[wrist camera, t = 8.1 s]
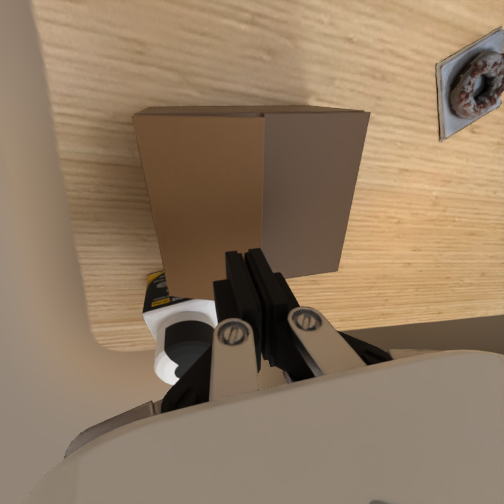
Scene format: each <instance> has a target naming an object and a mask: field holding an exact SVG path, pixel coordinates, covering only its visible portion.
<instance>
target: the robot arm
mask: <svg viewBox="0 0 504 504" xmlns="http://www.w3.org/2000/svg"><path fill="white" fill-rule="evenodd" d="M225 264H226V279H224V280H217V281H213V292H214V301H215V309H216V315H217V321H218V324H217V326H216V327H215V329H214V332H213V343H212V344H211V345H210V347H209V348H208V349H207V350H206V351H205V352H204V353H203V354H202V355H201V356H200V357H199V358H198V360H197V361H196V362H195V363H194V364H193V365H192V366H191V367H190V368H189V369H188V370H187V371H186V373H185V374H184V375H183V376H182V377H181V378H180V379H179V380H178V381H177V382H176V383H175V384H174V386H173V387H172V388H171V389H170V390H169V391H168V392H167V394H166V395H165V397H164V398H163V399H162V400H160V401H157V402H155V403H153V402H152V401H149V402H147V403H145V404H143V405H140V406H138V407H135V408H133V409H131V410H129V411H126V412H124V413H122V414H120V415H117V416H115V417H113V418H110V419H108V420H106V421H104V422H101V423H99V424H97V425H95V426H92V427H90V428H88V429H86V430H85V431H83V432H81V433H80V434H79V435H78V436H77V437H76V438H75V439H74V440H73V441H72V442H71V444H70V445H69V447H68V449H67V450H66V453H65V456H64V459H63V460H62V461H61V462H60V463H58V464H57V465H56V466H54V467H53V468H52V469H51V470H50V471H49V472H48V473H47V474H45V475H44V476H43V477H42V478H41V480H40V481H39V482H38V483H37V484H36V485H35V486H34V488H33V489H32V490H31V492H30V493H29V494H28V496H27V497H26V499H25V500H24V502H23V504H504V355H501V354H496V353H492V352H485V351H478V350H451V351H438V350H401V349H400V350H399V349H388V351H387V352H385V351H383V350H381V349H380V348H378V347H376V346H373V345H371V344H368V343H366V342H364V341H361V340H359V339H356V338H354V337H351V336H349V335H347V334H344V333H342V332H339V331H337V330H336V329H335V328H334V327H333V326H332V325H331V323H330V322H329V321H328V320H327V319H326V318H325V317H324V315H323V314H322V313H320V312H319V311H318V310H316V309H314V308H311V307H305V306H301V307H300V305H299V304H298V302H297V300H296V298H295V296H294V295H293V293H292V291H291V289H290V288H289V286H288V284H287V282H286V280H285V279H284V277H283V275H282V274H281V272H275V273H273V271H272V269H271V267H270V265H269V264H268V262H267V260H266V258H265V256H264V254H263V252H262V250H261V248H253V249H248V252H245V253H244V258H243V255H242V253H238V252H237V251H228V252H225ZM261 353H262V356H263V359H264V360H268V361H269V364H270V367H274V366H276V367H278V368H280V369H282V370H283V375H284V378H285V380H286V382H287V383H288V384H284V385H280V386H276V387H271V388H267V389H262V390H259V382H258V373H259V371H260V368H261Z"/></svg>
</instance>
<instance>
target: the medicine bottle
mask: <svg viewBox="0 0 504 504" xmlns="http://www.w3.org/2000/svg"><path fill="white" fill-rule="evenodd" d="M142 316H143V319H144V320H145V322H146V324H147V326H148V328H149V330H150V332H151V334H152V336H153V338H154V339H155V341H156V349H155V360H154V370H155V373H156V374H157V376H158V377H159V378H160V379H161V380H163V381H164V382H166V383H168V384H171V385H174V384H175V383H176V382H177V381H178V380H179V379H180V378H181V377H182V376H183V375H184V374H185V373H186V371H187V370H188V369H189V368H190V367H191V366H192V365H193V364H194V363H195V362H196V361H197V360H198V358H199V357H200V356H201V355H202V354H203V353H204V352H205V351H206V350H207V349H208V348H209V347H210V345H211V344H212V343H213V332H214V329H215V327H216V326H217V324H218V321H217V315H216V309H215V301H211V300H202V299H193V298H184V297H175V296H169V291H168V287H167V282H166V277H165V272H164V271H162V272H158V273H154V274H151V275H149V278H148V284H147V290H146V296H145V302H144V308H143V314H142Z"/></svg>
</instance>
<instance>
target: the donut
mask: <svg viewBox="0 0 504 504" xmlns="http://www.w3.org/2000/svg"><path fill="white" fill-rule="evenodd" d="M503 52H504V30H503V28H502V26H501V27H500V28H497V29H496V30H494V31H493V32H491V33H489V34H487V35H486V36H484V37H483V38H481V39H479V40H477V41H476V42H475V43H473V44H471V45H469V46H467V47H465V48H464V49H462V50H461V51H459V52H457V53H456V54H454V55H452V56H450V57H448V58H447V59H445V60H444V61H442V62H441V63H439V64H437V65H436V69H437V70H436V71H437V72H436V73H437V74H436V76H437V84H438V97H439V98H438V102H439V108H438V110H439V115H440V117H439V120H440V137H441V142H442V141H444V140H446V139H447V138H449V137H450V136H452V135H454V134H455V133H457V132H459V131H460V130H462V129H463V128H465V127H466V126H468V125H470V124H472V123H473V122H474V121H476V120H478V119H479V118H481V117H483V116H485V115H486V114H488V113H489V112H491V111H493V110H494V109H497V108H499V107H500V105H501V103H502V102H501V93H502V92H503V91H504V53H503Z"/></svg>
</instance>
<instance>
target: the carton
mask: <svg viewBox="0 0 504 504" xmlns="http://www.w3.org/2000/svg"><path fill="white" fill-rule="evenodd" d="M134 115H154V116H228V117H265V133H264V176H263V218H262V252H263V254H264V256H265V258H266V260H267V262H268V264H269V265H270V267H271V269H272V271H273V273H275V272H281V274H282V275H283V277H284V279H287V278H294V277H301V276H308V275H315V274H322V273H328V272H335V271H338V267H339V262H340V258H341V253H342V248H343V243H344V238H345V233H346V229H347V224H348V219H349V214H350V209H351V204H352V200H353V195H354V190H355V185H356V180H357V175H358V171H359V166H360V161H361V156H362V151H363V146H364V142H365V137H366V132H367V127H368V122H369V117H370V112H364V111H363V110H352V109H341V108H330V107H320V106H309V105H298V106H178V107H148V108H146V109H144V110H141V111H139V112H137V113H135V114H134Z"/></svg>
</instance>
